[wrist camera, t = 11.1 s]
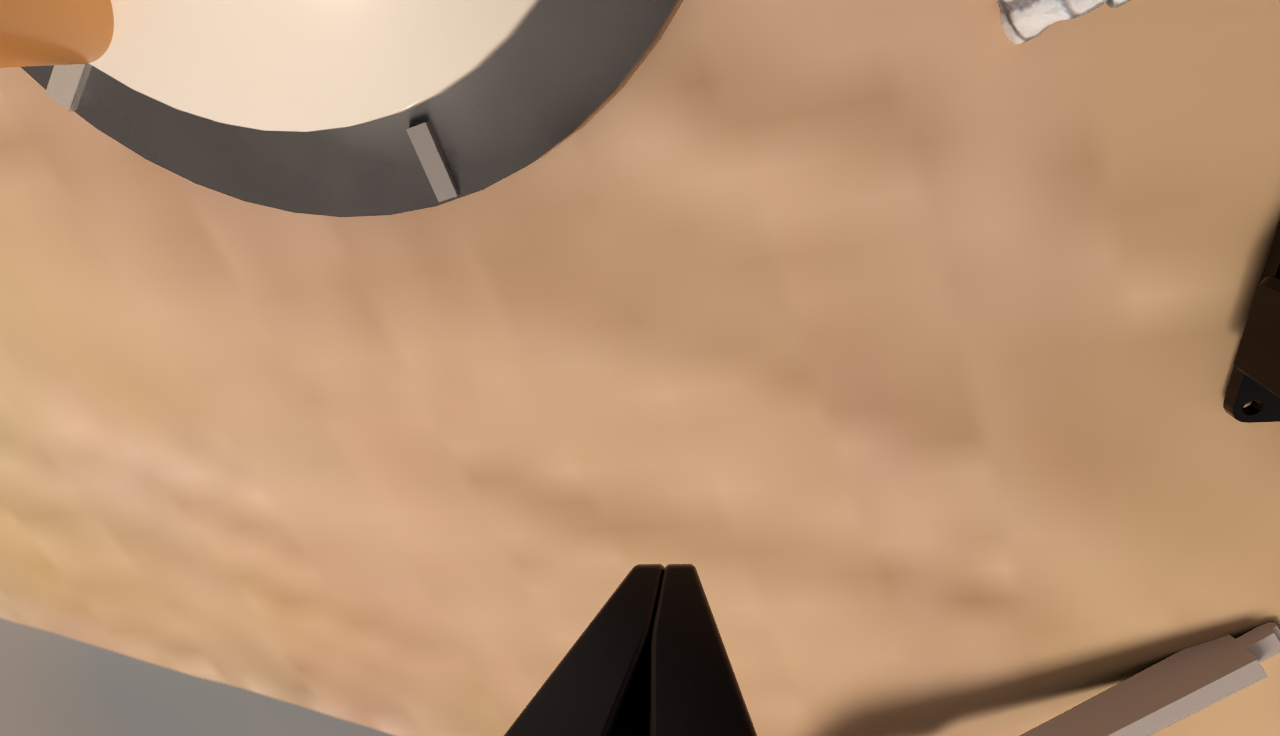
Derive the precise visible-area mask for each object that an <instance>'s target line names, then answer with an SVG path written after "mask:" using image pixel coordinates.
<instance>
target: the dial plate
mask: <svg viewBox="0 0 1280 736" xmlns="http://www.w3.org/2000/svg"><path fill="white" fill-rule="evenodd" d="M682 1H683V0H543V1H542V2H541V4H540V5H539V6H538V7H537V9H536V10H535V11H534V12H533V14H532V15H531V16H530V17H529V19H528V20H527V21H526V22H525V24H524V25H523V26H522V28H521V29H520V30H519V31H518V33H517V34H516V35H515V36H514V37H513V38H512V39H511V40H510V41H509V42H508V43H507V44H506V45H505V46H504V47H503V48H502V49H500V50H499V51H498V52H497V53H496V54H495V55H494V56H493V57H492V58H491V59H490V60H489V61H488V62H487V63H486V64H485V65H484V66H483V67H481V68H480V69H479V70H477V71H476V72H474V73H473V74H471V75H470V76H469V77H467V78H466V79H464V80H463V81H461V82H460V83H458V84H457V85H456V86H454V87H453V88H451V89H450V90H448V91H447V92H445V93H443V94H441V95H439V96H437V97H435V98H433V99H431V100H429V101H427V102H425V103H422V104H420V105H418V106H416V107H414V108H412V109H410V110H408V111H404V112H401V113H398V114H394V115H391V116H387V117H384V118H380V119H377V120H374V121H370V122H366V123H362V124H357V125H353V126H349V127H341V128H333V129H325V130H317V131H309V132H298V131H265V130H259V129H253V128H247V127H241V126H236V125H230V124H224V123H220V122H216V121H213V120H210V119H207V118H204V117H200V116H197V115H194V114H191V113H188V112H185V111H181V110H178V109H176V108H173V107H171V106H169V105H167V104H165V103H162V102H160V101H158V100H156V99H153V98H151V97H149V96H147V95H145V94H142V93H140V92H138V91H136V90H133V89H132V88H130V87H128V86H126V85H125V84H123V83H121V82H120V81H118V80H116V79H115V78H113V77H111V76H109V75H108V74H106V73H104V72H103V71H101V70H99V69H98V68H96V67H94V66H92V65H91V64H89V63H86V64H74V65H50V66H27V67H21V68H23V69H24V70H25V71H26V72H27V73H28V74H29V75H30V76H31V77H32V78H34V79H35V80H36V81H37V82H38V83H39V84H40V85H41V86H42V87H44V88H45V89H46V92H45V94H47V95H48V96H49V97H51V98H52V99H53V100H54V101H56V102H57V103H58V104H60V105H61V106H62V107H63V108H65V109H66V110H67V111H68V112H69V111H74V112H76V113H77V114H78V115H80V116H81V117H82V118H84V119H85V120H86V121H88V122H89V123H90V124H92V125H93V126H94V127H96V128H97V129H98V130H100V131H102V132H103V133H105V134H107V135H108V136H110V137H111V138H113V139H115V140H116V141H118V142H119V143H121V144H123V145H124V146H126V147H127V148H129V149H131V150H132V151H134V152H135V153H137V154H139V155H140V156H142V157H144V158H145V159H147V160H149V161H151V162H153V163H155V164H157V165H159V166H161V167H163V168H165V169H167V170H169V171H171V172H173V173H175V174H177V175H179V176H182V177H184V178H186V179H188V180H190V181H192V182H194V183H196V184H199V185H201V186H204V187H207V188H210V189H213V190H215V191H218V192H221V193H224V194H226V195H229V196H232V197H235V198H237V199H240V200H243V201H246V202H251V203H255V204H259V205H264V206H268V207H273V208H277V209H281V210H286V211H290V212H295V213H306V214H316V215H327V216H337V217H353V216H376V215H392V214H397V213H402V212H407V211H413V210H418V209H423V208H428V207H433V206H438V205H441V204H443V203H446V202H449V201H452V200H455V199H457V198H460V197H463V196H466V195H469V194H472V193H474V192H477V191H480V190H483V189H485V188H487V187H489V186H490V185H492V184H494V183H496V182H498V181H500V180H502V179H503V178H505V177H507V176H509V175H511V174H513V173H515V172H517V171H518V170H520V169H522V168H524V167H526V166H528V165H529V164H531V163H533V162H534V161H536V160H538V159H539V158H541V157H543V156H544V155H545V154H547V153H548V152H549V151H551V150H552V149H553V148H555V147H556V146H557V145H559V144H560V143H561V142H563V141H564V140H566V139H567V138H568V137H570V136H571V135H572V134H574V133H575V132H576V131H578V130H579V129H580V128H582V127H583V126H584V125H585V124H586V123H587V122H588V121H589V120H590V119H591V118H592V117H593V116H594V115H595V114H596V113H597V112H598V111H599V110H600V109H602V108H603V107H604V106H605V105H606V104H607V103H608V102H609V101H610V100H611V99H612V98H613V97H614V96H615V95H616V94H617V93H618V92H619V91H620V90H621V89H622V88H623V87H624V85H625V84H626V83H627V82H628V80H629V79H630V78H631V76H632V75H633V74H634V72H635V71H636V70H637V69H638V67H639V66H640V65H641V63H642V62H643V61H644V60H645V58H646V57H647V56H648V54H649V53H650V52H651V50H652V49H653V48H654V47H655V45H656V44H657V43H658V41H659V40H660V39H661V37H662V35H663V33H664V32H665V30H666V28H667V27H668V25H669V23H670V22H671V20H672V18H673V17H674V15H675V13H676V11H677V10H678V8H679V6H680V5H681V3H682Z"/></svg>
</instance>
